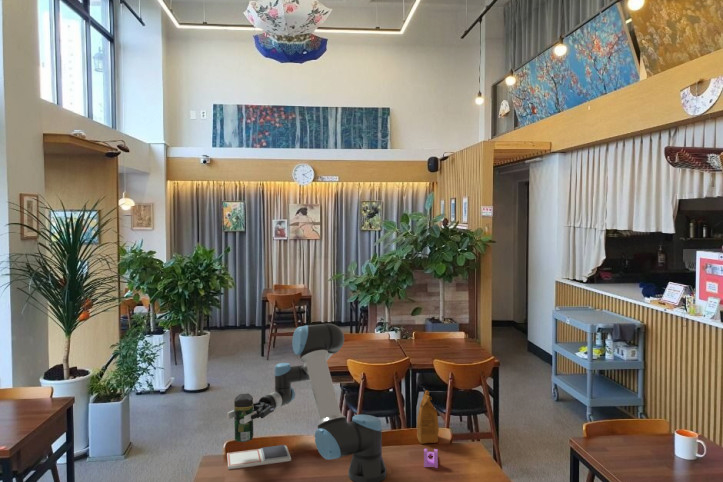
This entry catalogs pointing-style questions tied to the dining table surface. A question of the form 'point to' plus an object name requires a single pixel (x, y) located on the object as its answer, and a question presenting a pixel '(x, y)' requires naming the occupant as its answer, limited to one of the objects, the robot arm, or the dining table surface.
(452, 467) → the dining table surface
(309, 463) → the dining table surface
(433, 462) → the bracket
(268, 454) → the ink pad
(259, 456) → the board
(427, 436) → the coffee package
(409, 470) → the dining table surface
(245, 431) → the coffee jar
